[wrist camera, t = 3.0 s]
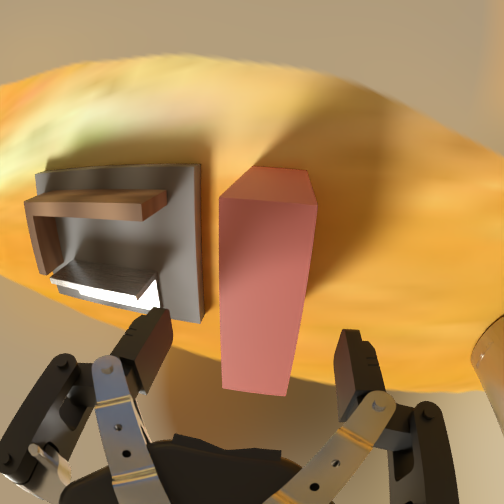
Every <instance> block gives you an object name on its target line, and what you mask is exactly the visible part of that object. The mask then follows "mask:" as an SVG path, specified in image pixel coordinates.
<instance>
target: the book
mask: <svg viewBox="0 0 504 504" xmlns="http://www.w3.org/2000/svg"><path fill="white" fill-rule="evenodd" d="M317 209H318V204H317V201H316V198H315V195H314V191H313V188H312V185H311V182H310V179H309V176H308V173H307V170H297V169H286V168H274V167H260V166H252V167H251V168H250V169H249V170H248V171H247V172H245V173H244V174H243V175H242V176H241V177H240V178H239V179H238V180H237V181H236V182H235V183H234V184H233V185H231V186H230V187H229V188H228V189H227V190H226V191H225V192H224V193H223V194H222V195H221V196H220V197H219V295H220V334H221V362H222V384H223V388H225V389H232V390H238V391H245V392H252V393H260V394H268V395H278V396H286V392H287V387H288V382H289V378H290V373H291V369H292V364H293V359H294V354H295V349H296V344H297V339H298V333H299V328H300V323H301V317H302V311H303V306H304V300H305V294H306V288H307V281H308V275H309V269H310V262H311V255H312V248H313V241H314V233H315V225H316V217H317Z"/></svg>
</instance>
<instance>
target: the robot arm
mask: <svg viewBox="0 0 504 504" xmlns="http://www.w3.org/2000/svg"><path fill="white" fill-rule="evenodd" d="M172 341H173V330H172V324H171V317H170V311H169V309H166V308H160V307H155V306H153V307H152V308H151V309H150V311H149V312H148V314H147V315H141V316H140V317H138V318H137V319H135V320H134V321H133V322H132V324H131V325H130V327H129V329H127V331H126V332H125V335H123V337H122V338H121V339H120V341H119V343H118V344H117V345H116V347H115V348H114V350H113V351H112V353H111V354H110V355H106V356H102V357H99V358H98V359H96V360H95V361H94V363H77V361H76V359H75V357H74V356H73V355H71V354H66V353H64V354H60V355H58V356H56V357H55V358H53V360H52V361H51V362H50V364H49V365H48V366H47V368H46V369H45V371H44V372H43V374H42V375H41V376H40V378H39V379H38V381H37V382H36V384H35V385H34V387H33V388H32V390H31V391H30V393H29V394H28V396H27V397H26V399H25V401H24V402H23V404H22V405H21V407H20V408H19V410H18V412H17V413H16V415H15V417H14V419H13V420H12V422H11V423H10V425H9V427H8V428H7V430H6V432H5V434H4V435H3V437H2V439H1V441H0V472H1V473H2V474H3V475H5V476H6V477H7V478H9V479H10V480H11V481H12V482H13V483H14V484H16V485H17V486H19V487H20V488H22V489H23V490H25V491H27V492H29V493H31V494H33V495H34V496H36V497H38V498H39V499H42V500H46V501H47V502H49V503H51V504H335V503H334V502H333V501H332V500H333V499H334V498H335V496H336V495H337V494H338V493H339V492H340V491H341V489H342V488H343V487H344V486H345V485H346V483H347V482H348V481H349V480H350V478H351V477H352V476H353V475H354V473H355V472H356V471H357V469H358V468H359V467H360V465H361V464H362V463H363V461H364V460H365V458H366V457H367V455H368V454H369V453H370V451H371V450H372V448H373V447H376V448H380V449H385V450H387V452H388V467H389V486H390V504H459V498H458V489H457V482H456V475H455V469H454V464H453V458H452V453H451V449H450V444H449V440H448V435H447V431H446V426H445V422H444V419H443V415H442V411H441V409H440V408H439V407H438V406H437V405H436V404H434V403H432V402H429V401H424V402H420V403H419V404H417V406H416V407H415V408H413V407H408V406H403V405H399V404H397V403H396V402H395V400H394V398H393V397H392V396H391V395H390V394H388V393H387V392H386V390H385V386H384V382H383V378H382V374H381V370H380V366H379V363H378V359H377V355H376V352H375V349H374V347H373V346H372V345H371V344H370V343H369V341H362V339H361V335H360V331H359V330H352V329H343V330H342V332H341V335H340V338H339V341H338V344H337V348H336V351H335V354H334V374H335V384H336V394H337V404H338V417H339V422H346V423H345V424H344V425H343V426H342V427H341V428H339V429H338V430H337V432H335V434H334V435H333V436H332V437H331V438H330V439H329V440H328V442H327V443H326V444H325V445H324V446H323V447H322V448H321V449H320V450H319V452H318V453H317V454H316V455H315V456H314V457H313V458H312V459H311V460H310V461H309V462H308V463H307V464H306V465H305V466H304V467H303V468H302V467H301V466H300V465H298V464H296V463H295V462H293V461H291V460H289V459H286V458H283V457H281V450H269V449H259V448H251V449H250V448H249V449H236V450H224V449H222V448H219V447H217V446H214V445H212V444H210V443H207V442H205V441H203V440H201V439H196V438H192V437H188V436H183V435H179V434H174V437H173V440H170V439H169V440H160V441H156V442H152V441H151V439H150V436H149V434H148V432H147V429H146V427H145V424H144V421H143V418H142V415H141V413H140V410H139V407H138V404H137V401H136V397H137V395H138V393H141V394H144V395H147V393H148V391H149V389H150V387H151V385H152V383H153V381H154V379H155V377H156V375H157V373H158V371H159V369H160V367H161V364H162V363H163V361H164V358H165V356H166V355H167V353H168V351H169V349H170V347H171V344H172ZM471 363H472V365H473V367H474V369H475V371H476V373H477V375H478V377H479V379H480V382H481V384H482V386H483V388H484V390H485V392H486V395H487V397H488V399H489V401H490V404H491V406H492V408H493V411H494V413H495V415H496V418H497V420H498V423H499V425H500V428H501V431H502V433H503V436H504V317H502V318H500V319H499V320H498V321H496V322H495V323H494V324H493V325H492V326H490V327H489V329H488V330H487V331H486V332H485V333H484V334H483V335H482V337H481V338H480V339H479V341H478V342H477V344H476V346H475V348H474V350H473V353H472V356H471ZM63 401H64V402H63ZM94 407H95V413H96V418H97V423H98V427H99V432H100V436H101V440H102V444H103V448H104V451H105V455H106V459H107V462H108V466H106V467H104V468H101V469H100V470H97V471H95V472H93V473H91V474H89V475H87V476H85V477H82V478H80V479H78V480H76V481H73V482H71V483H70V480H71V467H70V464H69V463H68V461H69V458H70V456H71V454H72V452H73V449H74V447H75V445H76V443H77V441H78V439H79V437H80V435H81V432H82V430H83V428H84V426H85V424H86V422H87V420H88V418H89V416H90V414H91V412H92V410H93V408H94Z"/></svg>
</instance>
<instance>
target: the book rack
mask: <svg viewBox="0 0 504 504" xmlns="http://www.w3.org/2000/svg"><path fill="white" fill-rule="evenodd" d="M200 176H201V164H132V165H110V166H94V167H81V168H69V169H59V170H50V171H44V172H40V173H37V174H35V179H36V188H37V196H35V197H33V198H31V199H28V200H26V201H24V206H25V212H26V218H27V223H28V228H29V233H30V238H31V242H32V246H33V250H34V254H35V258H36V262H37V266H38V269H39V273H40V274H43V275H48V274H49V273H51V272H52V271H53V273H54V274H55V273H56V272H57V271H59V270H60V269H61V268H63V267H64V266H65V265H67V264H68V263H69V262H70V261H72V260H73V259H77V260H83V261H89V262H95V263H102V264H108V265H115V266H121V267H128V268H135V269H142V270H149V271H156V272H157V278H158V286H159V293H160V300H161V306H162V308H166V309H169V311H170V317H171V319H175V320H181V321H187V322H192V323H199V324H200V323H201V321H202V319H203V317H204V315H205V311H204V293H203V272H202V245H201V183H200ZM57 287H58V290H59V293H61V294H64V295H68V296H71V297H75V298H79V299H83V300H87V301H91V302H95V303H99V304H103V305H107V306H112V307H116V308H120V309H125V310H130V311H134V312H139V313H144V314H148V312H149V311H150V309H145V308H140V307H135V306H130V305H125V304H121V303H116V302H112V301H107V300H103V299H98V298H94V297H90V296H86V295H82V294H80V292H79V290H76V289H72V288H68V287H64V286H60V285H57Z"/></svg>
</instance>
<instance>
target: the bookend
mask: <svg viewBox="0 0 504 504" xmlns="http://www.w3.org/2000/svg"><path fill="white" fill-rule="evenodd" d="M50 281H51V283H53V284H56V285H60V286H64V287H68V288H72V289H76V290H79V292H80V294H82V295H86V296H90V297H94V298H98V299H103V300H107V301H112V302H116V303H121V304H125V305H130V306H135V307H140V308H145V309H151V308H152V307H153V306H155V307H160V308H162V306H161V300H160V293H159V286H158V278H157V272H156V271H149V270H142V269H135V268H128V267H121V266H115V265H108V264H102V263H95V262H89V261H83V260H77V259H73V260H72V261H70V262H69V263H68V264H67V265H65V266H64V267H63V268H61V269H60V270H59V271H57V272H56V273H55V274H54V275H52V276H51V277H50Z"/></svg>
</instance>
